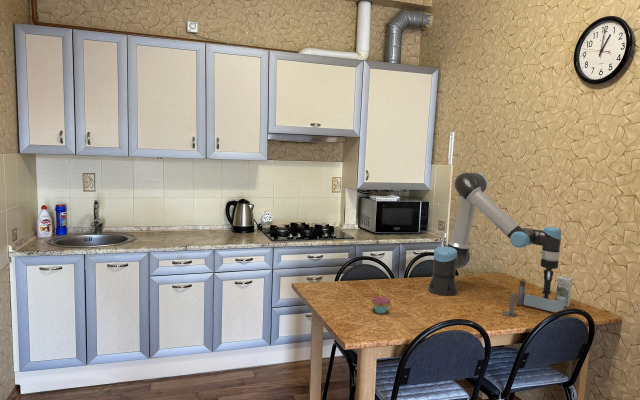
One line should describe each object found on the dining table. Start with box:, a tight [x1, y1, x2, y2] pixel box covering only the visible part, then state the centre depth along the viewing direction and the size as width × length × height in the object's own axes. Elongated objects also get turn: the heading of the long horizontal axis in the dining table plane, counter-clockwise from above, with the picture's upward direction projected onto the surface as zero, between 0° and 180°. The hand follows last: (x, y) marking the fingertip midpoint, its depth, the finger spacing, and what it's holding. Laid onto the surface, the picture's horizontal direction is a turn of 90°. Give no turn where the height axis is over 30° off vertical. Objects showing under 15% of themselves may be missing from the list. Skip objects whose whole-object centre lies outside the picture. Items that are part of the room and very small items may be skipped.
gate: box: [516, 285, 565, 313], centre depth 208 cm, size 20×3×9 cm, turn 48°
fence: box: [519, 279, 526, 288], centre depth 222 cm, size 3×13×9 cm, turn 153°
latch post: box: [501, 292, 516, 318], centre depth 199 cm, size 5×5×10 cm
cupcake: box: [371, 287, 391, 314], centre depth 195 cm, size 9×8×12 cm
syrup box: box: [554, 275, 573, 308], centre depth 216 cm, size 6×6×14 cm
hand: (545, 306), depth 210 cm, fingers closed
